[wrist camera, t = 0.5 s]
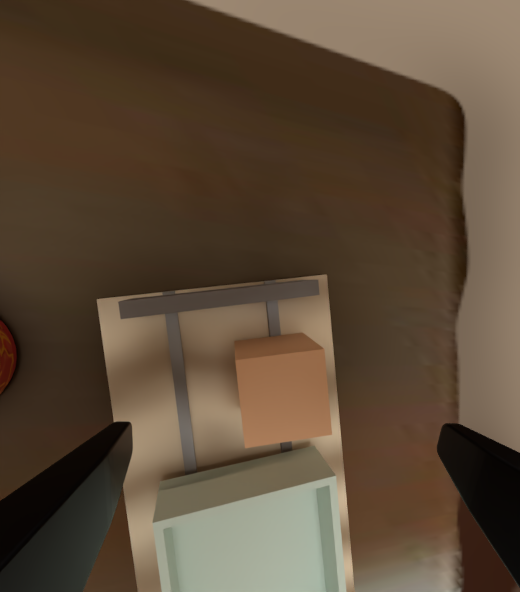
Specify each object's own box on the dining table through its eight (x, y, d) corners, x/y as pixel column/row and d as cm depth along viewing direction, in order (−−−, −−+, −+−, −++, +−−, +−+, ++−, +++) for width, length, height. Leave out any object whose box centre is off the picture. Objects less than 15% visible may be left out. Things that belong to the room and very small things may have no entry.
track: (350, 594, 25) (377, 648, 21) (151, 664, 22) (142, 743, 18) (322, 274, 23) (346, 273, 19) (100, 298, 20) (78, 302, 16)
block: (309, 399, 22) (332, 434, 17) (241, 408, 21) (244, 448, 16) (302, 332, 22) (324, 348, 17) (234, 341, 21) (235, 360, 16)
